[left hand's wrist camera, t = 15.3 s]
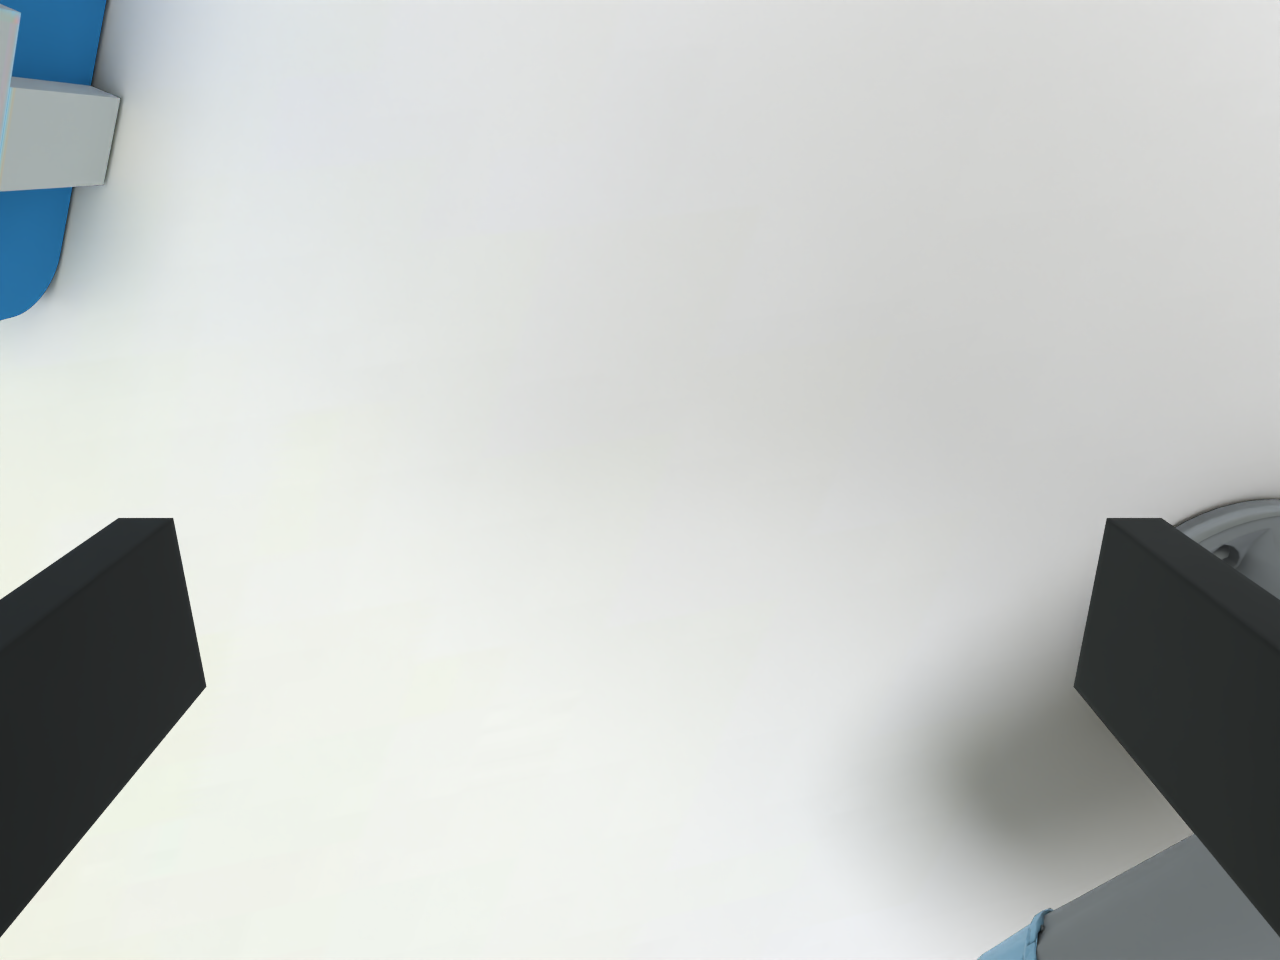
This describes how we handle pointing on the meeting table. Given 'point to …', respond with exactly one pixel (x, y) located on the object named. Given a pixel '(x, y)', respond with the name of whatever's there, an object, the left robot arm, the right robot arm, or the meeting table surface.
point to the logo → (46, 135)
